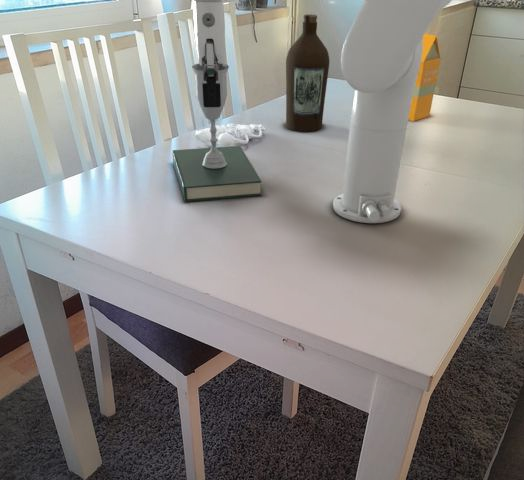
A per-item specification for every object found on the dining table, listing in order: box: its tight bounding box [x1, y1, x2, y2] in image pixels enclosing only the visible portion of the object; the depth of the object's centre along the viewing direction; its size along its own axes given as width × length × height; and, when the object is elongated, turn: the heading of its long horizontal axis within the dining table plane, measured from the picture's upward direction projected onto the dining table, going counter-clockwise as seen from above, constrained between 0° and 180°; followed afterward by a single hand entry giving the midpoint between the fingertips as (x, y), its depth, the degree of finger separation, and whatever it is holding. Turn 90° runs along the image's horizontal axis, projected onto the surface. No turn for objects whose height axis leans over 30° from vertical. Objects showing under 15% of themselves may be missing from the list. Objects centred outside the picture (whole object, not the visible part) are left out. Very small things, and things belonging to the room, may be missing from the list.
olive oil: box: [285, 13, 330, 133], centre depth 134 cm, size 11×11×25 cm
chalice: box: [191, 62, 230, 169], centre depth 105 cm, size 7×7×18 cm
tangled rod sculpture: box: [194, 123, 267, 147], centre depth 131 cm, size 19×14×4 cm
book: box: [171, 145, 262, 203], centre depth 112 cm, size 21×15×3 cm
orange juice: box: [408, 33, 442, 122], centre depth 145 cm, size 8×9×20 cm
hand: (211, 100), depth 103 cm, fingers closed on chalice, 6 cm apart
